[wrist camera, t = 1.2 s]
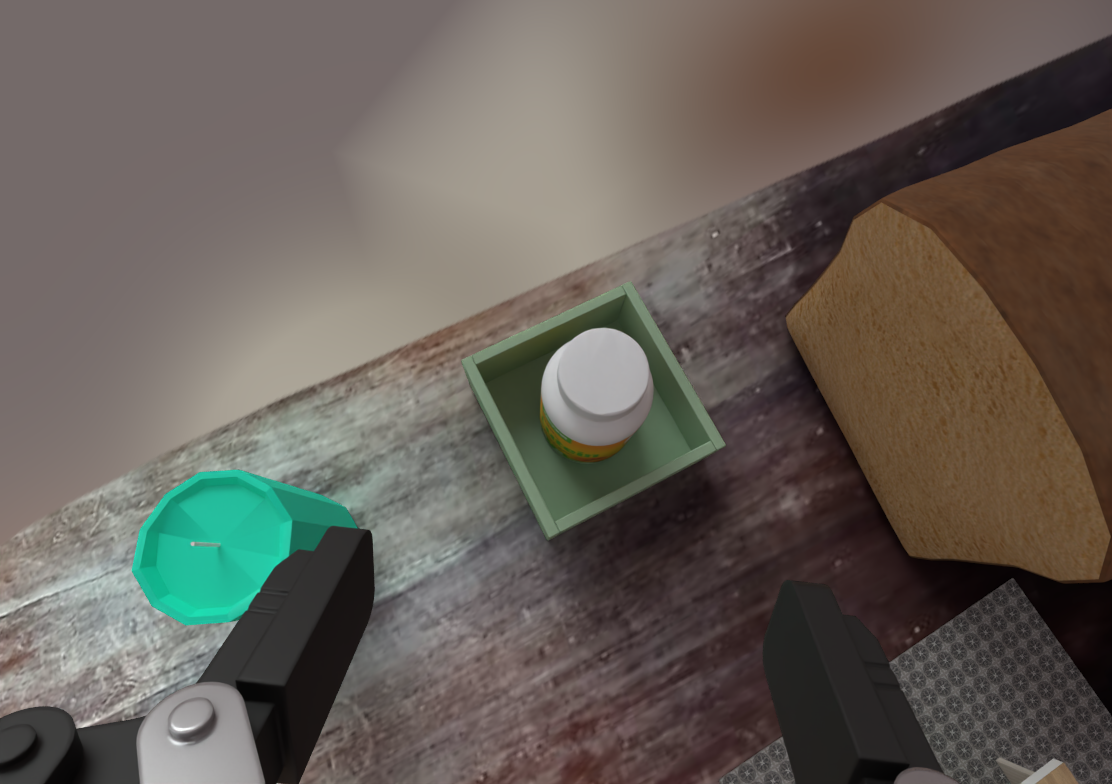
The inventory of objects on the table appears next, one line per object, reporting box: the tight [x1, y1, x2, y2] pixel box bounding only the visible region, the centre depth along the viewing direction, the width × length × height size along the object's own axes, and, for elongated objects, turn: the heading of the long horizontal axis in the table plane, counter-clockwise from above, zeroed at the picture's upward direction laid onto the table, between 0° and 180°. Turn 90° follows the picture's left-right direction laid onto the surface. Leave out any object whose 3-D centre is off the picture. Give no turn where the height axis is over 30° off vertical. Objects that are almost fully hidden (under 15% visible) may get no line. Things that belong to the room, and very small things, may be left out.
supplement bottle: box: [540, 328, 654, 464], centre depth 32 cm, size 5×5×10 cm
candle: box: [132, 470, 358, 625], centre depth 29 cm, size 6×6×12 cm
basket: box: [461, 281, 726, 541], centre depth 35 cm, size 10×10×4 cm
